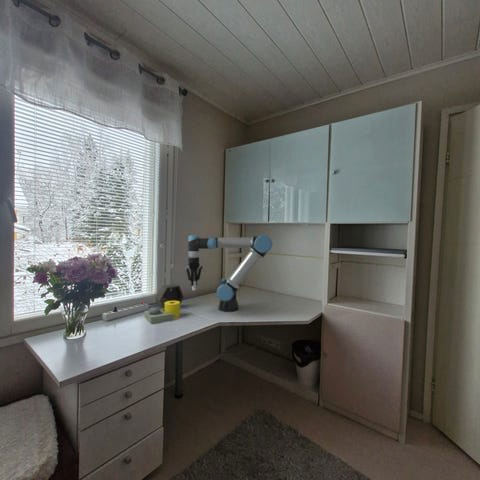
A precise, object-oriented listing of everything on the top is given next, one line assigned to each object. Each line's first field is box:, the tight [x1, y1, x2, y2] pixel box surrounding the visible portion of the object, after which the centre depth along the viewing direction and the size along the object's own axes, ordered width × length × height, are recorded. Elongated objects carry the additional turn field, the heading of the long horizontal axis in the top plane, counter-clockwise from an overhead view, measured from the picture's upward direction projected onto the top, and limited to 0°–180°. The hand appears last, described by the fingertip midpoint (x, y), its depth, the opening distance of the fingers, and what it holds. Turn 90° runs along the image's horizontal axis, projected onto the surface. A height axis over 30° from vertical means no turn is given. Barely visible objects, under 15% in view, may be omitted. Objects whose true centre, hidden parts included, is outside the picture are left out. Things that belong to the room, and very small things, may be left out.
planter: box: [154, 283, 185, 309], centre depth 187 cm, size 17×8×21 cm
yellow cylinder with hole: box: [165, 301, 181, 320], centre depth 172 cm, size 10×10×9 cm
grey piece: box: [144, 306, 175, 325], centre depth 167 cm, size 14×15×7 cm
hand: (194, 290), depth 181 cm, fingers closed
